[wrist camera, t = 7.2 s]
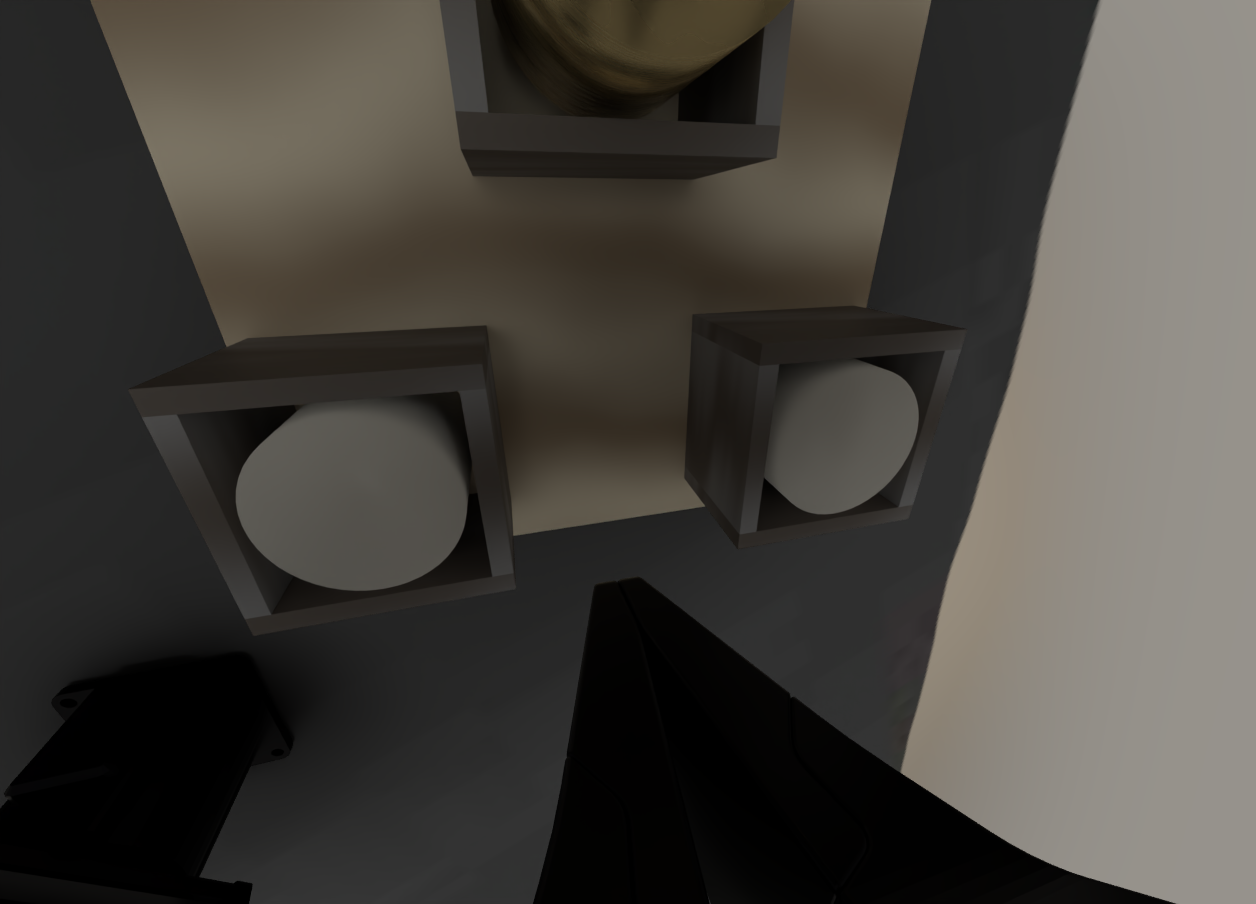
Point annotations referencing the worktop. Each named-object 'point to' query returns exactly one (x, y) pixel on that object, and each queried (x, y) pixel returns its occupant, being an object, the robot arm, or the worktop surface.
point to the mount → (520, 263)
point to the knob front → (360, 490)
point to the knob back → (838, 433)
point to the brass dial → (623, 47)
